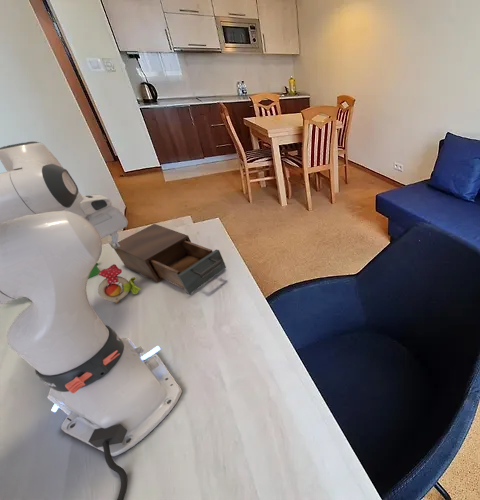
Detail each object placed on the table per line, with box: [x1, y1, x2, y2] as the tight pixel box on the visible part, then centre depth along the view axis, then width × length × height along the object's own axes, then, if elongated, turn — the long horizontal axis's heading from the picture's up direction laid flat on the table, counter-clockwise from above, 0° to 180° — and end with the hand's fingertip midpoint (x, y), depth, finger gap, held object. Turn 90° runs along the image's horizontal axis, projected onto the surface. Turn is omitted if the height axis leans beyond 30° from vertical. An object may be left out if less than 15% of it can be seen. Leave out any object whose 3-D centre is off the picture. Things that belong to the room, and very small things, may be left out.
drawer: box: [149, 240, 227, 295], centre depth 91 cm, size 23×13×7 cm, turn 59°
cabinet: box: [113, 223, 192, 283], centre depth 100 cm, size 20×15×9 cm
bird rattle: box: [97, 263, 142, 303], centre depth 86 cm, size 6×11×9 cm
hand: (98, 256), depth 81 cm, fingers open, 8 cm apart
